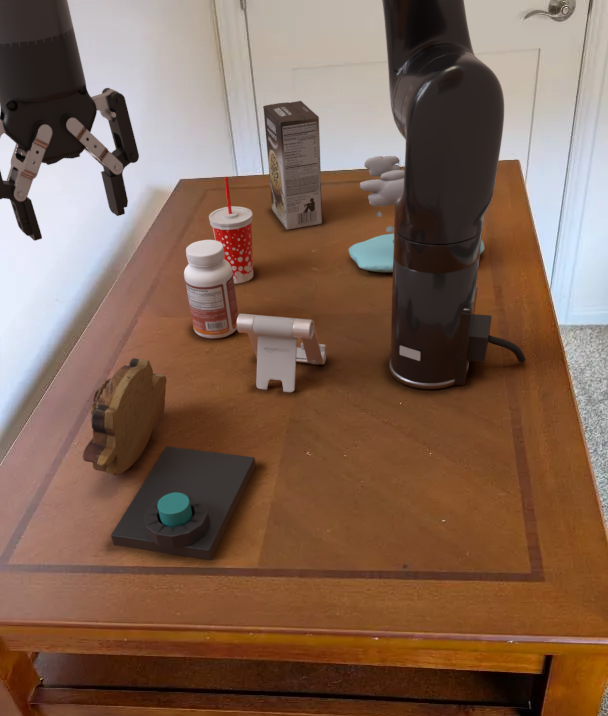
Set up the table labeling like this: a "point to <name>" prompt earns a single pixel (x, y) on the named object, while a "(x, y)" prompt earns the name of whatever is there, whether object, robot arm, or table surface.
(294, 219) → the coffee box
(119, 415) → the wooden carving
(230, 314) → the pill bottle
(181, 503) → the tare button
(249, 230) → the beverage cup
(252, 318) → the tablet stand
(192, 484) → the black push button board
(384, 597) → the table surface
